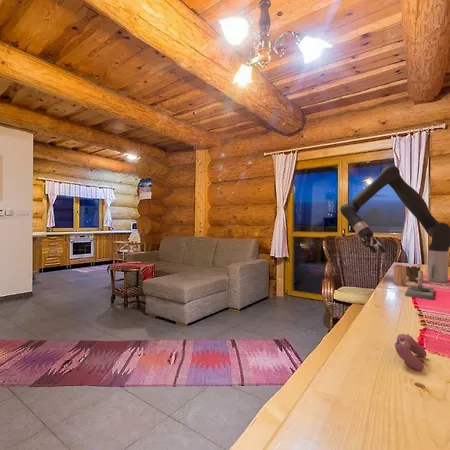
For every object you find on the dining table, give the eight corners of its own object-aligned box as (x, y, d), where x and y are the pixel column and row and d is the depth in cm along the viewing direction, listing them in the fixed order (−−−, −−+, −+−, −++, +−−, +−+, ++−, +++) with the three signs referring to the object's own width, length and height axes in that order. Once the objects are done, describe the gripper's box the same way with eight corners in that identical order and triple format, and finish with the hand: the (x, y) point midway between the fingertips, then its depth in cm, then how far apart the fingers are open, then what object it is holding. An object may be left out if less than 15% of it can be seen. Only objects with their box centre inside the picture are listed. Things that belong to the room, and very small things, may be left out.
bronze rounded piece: (406, 281, 159) (407, 267, 159) (402, 278, 166) (403, 265, 166) (422, 282, 157) (422, 268, 156) (417, 279, 164) (417, 266, 163)
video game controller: (409, 358, 73) (395, 331, 75) (428, 355, 71) (414, 327, 72) (403, 374, 66) (388, 343, 67) (425, 371, 63) (409, 339, 65)
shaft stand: (409, 287, 144) (410, 266, 144) (433, 290, 138) (434, 268, 138) (405, 295, 128) (405, 272, 128) (432, 299, 122) (433, 274, 122)
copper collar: (397, 283, 154) (397, 264, 154) (408, 285, 150) (408, 266, 149) (391, 284, 152) (391, 265, 152) (401, 286, 147) (402, 267, 147)
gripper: (360, 226, 163) (377, 248, 154) (374, 226, 170) (392, 248, 161) (351, 234, 168) (367, 256, 159) (366, 234, 175) (382, 256, 166)
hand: (380, 252), depth 160 cm, fingers open, 8 cm apart
